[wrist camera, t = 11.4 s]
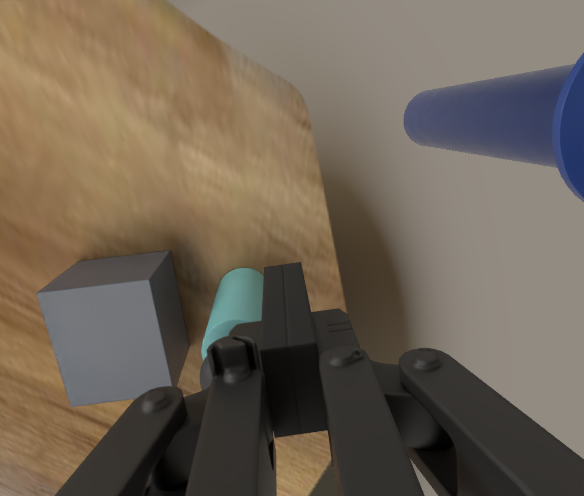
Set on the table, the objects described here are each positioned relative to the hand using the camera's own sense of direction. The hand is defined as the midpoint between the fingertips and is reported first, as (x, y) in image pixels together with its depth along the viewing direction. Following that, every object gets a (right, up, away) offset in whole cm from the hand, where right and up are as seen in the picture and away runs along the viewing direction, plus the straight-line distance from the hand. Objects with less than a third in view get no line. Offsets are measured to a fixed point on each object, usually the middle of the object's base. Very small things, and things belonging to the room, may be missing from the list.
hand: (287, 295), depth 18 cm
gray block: (-17, -5, +31) cm, 36 cm away
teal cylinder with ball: (-9, -4, +31) cm, 32 cm away
